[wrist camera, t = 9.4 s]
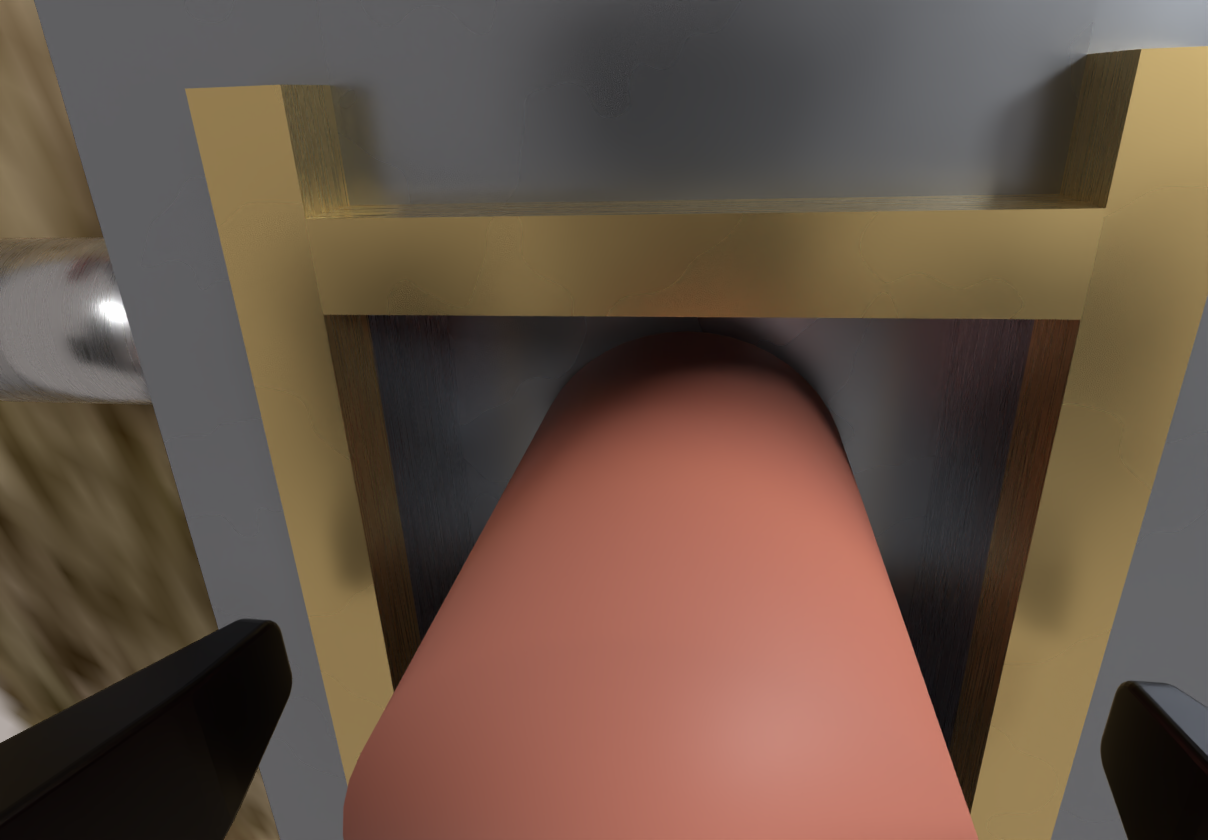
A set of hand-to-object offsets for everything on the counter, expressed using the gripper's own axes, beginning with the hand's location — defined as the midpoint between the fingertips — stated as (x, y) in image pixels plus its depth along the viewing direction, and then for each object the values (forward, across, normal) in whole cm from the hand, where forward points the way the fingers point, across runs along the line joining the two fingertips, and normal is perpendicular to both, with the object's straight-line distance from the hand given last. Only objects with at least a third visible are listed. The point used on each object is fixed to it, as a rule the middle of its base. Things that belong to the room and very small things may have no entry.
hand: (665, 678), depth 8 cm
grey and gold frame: (+5, +2, 0) cm, 5 cm away
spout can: (+4, 0, 0) cm, 4 cm away
